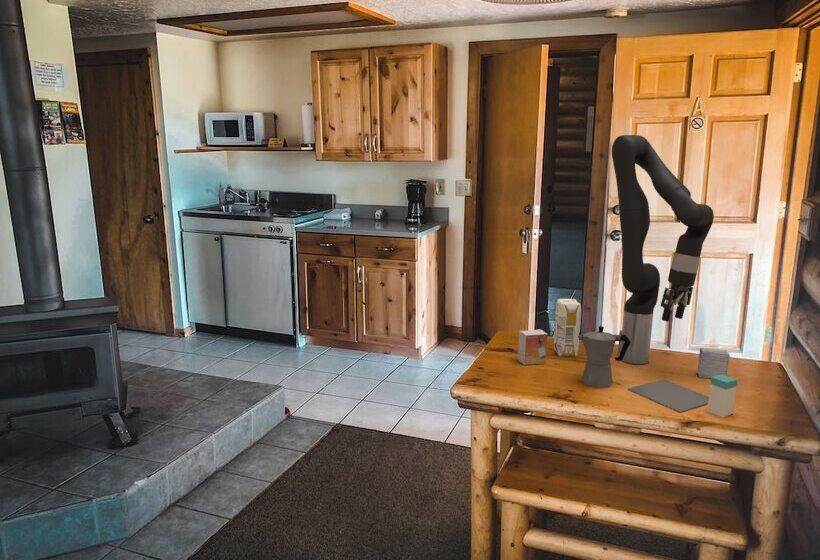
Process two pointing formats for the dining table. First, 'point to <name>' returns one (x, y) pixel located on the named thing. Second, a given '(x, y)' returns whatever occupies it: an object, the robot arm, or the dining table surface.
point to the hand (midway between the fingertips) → (671, 319)
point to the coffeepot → (600, 356)
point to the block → (722, 395)
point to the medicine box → (712, 362)
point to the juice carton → (567, 327)
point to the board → (671, 395)
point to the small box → (532, 347)
